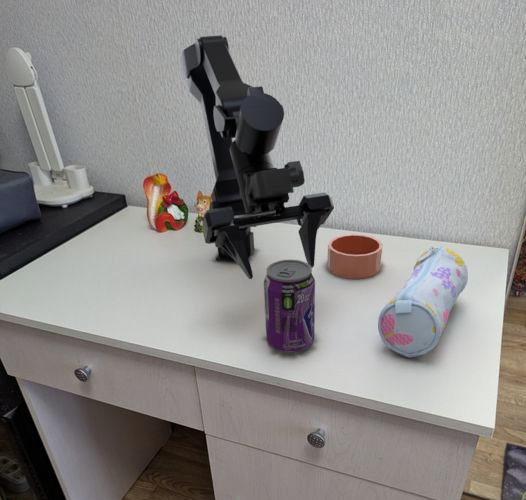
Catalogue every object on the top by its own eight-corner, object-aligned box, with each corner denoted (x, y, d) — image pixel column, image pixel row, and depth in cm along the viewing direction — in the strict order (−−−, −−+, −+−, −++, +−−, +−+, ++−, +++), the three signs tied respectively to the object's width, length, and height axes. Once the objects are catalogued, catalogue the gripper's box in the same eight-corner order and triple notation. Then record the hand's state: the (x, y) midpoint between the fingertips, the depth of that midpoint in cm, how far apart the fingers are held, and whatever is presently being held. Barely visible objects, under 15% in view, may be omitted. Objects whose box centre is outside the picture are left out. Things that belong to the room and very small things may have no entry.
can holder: (323, 276, 91) (324, 253, 88) (332, 254, 98) (333, 232, 96) (377, 281, 88) (380, 257, 86) (382, 258, 96) (384, 236, 93)
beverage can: (300, 361, 70) (299, 285, 63) (257, 347, 73) (252, 274, 66) (322, 336, 74) (324, 264, 68) (281, 324, 78) (279, 254, 71)
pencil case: (411, 289, 85) (419, 237, 80) (464, 300, 81) (476, 246, 76) (371, 353, 70) (377, 295, 65) (433, 369, 67) (445, 309, 61)
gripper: (196, 149, 63) (224, 262, 61) (330, 133, 67) (362, 238, 65) (192, 193, 74) (216, 291, 71) (309, 177, 78) (335, 269, 75)
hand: (282, 272), depth 70 cm, fingers open, 9 cm apart
